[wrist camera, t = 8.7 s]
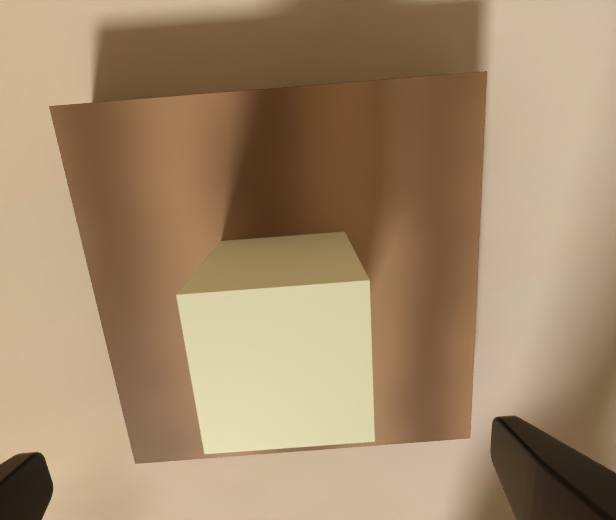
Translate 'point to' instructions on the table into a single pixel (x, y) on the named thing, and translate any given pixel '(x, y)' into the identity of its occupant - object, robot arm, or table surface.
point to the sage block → (280, 344)
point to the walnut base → (286, 232)
